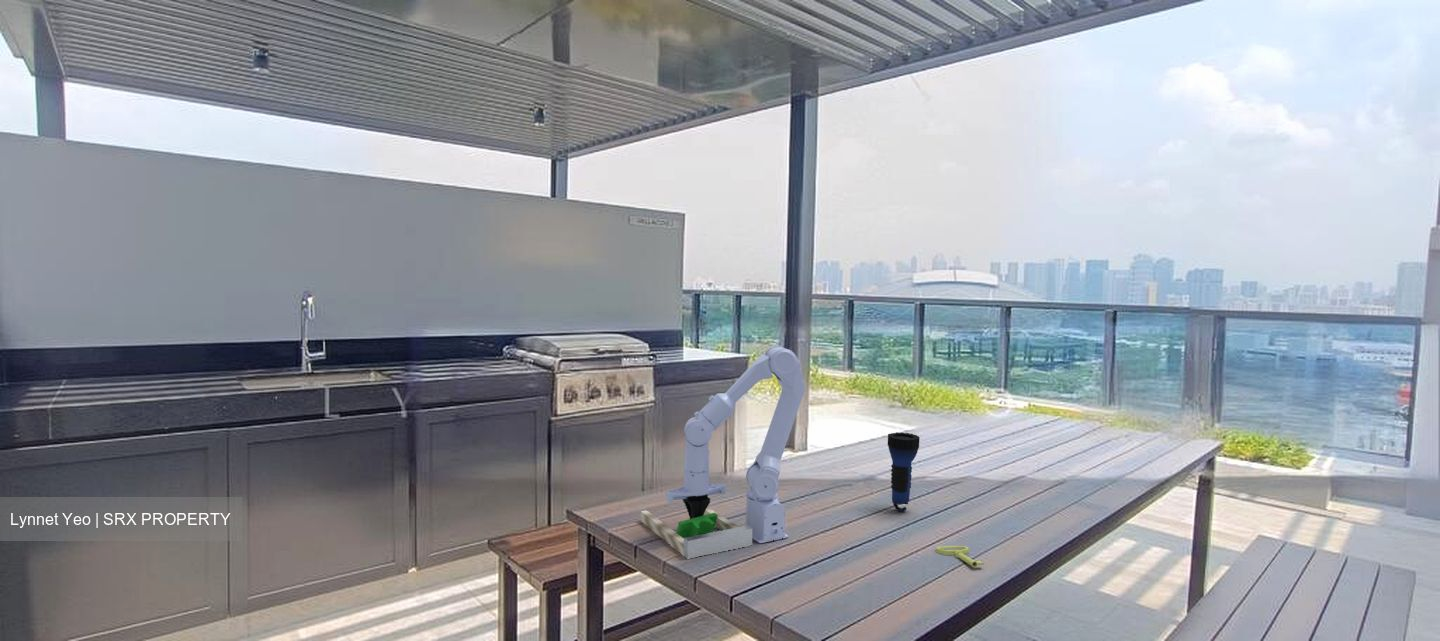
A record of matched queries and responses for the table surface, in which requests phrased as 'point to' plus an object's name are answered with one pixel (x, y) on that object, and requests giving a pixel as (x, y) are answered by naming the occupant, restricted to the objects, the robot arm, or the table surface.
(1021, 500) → the table surface
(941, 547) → the key
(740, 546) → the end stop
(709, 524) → the pipe clamp
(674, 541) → the guide rails
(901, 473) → the flashlight
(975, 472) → the table surface
